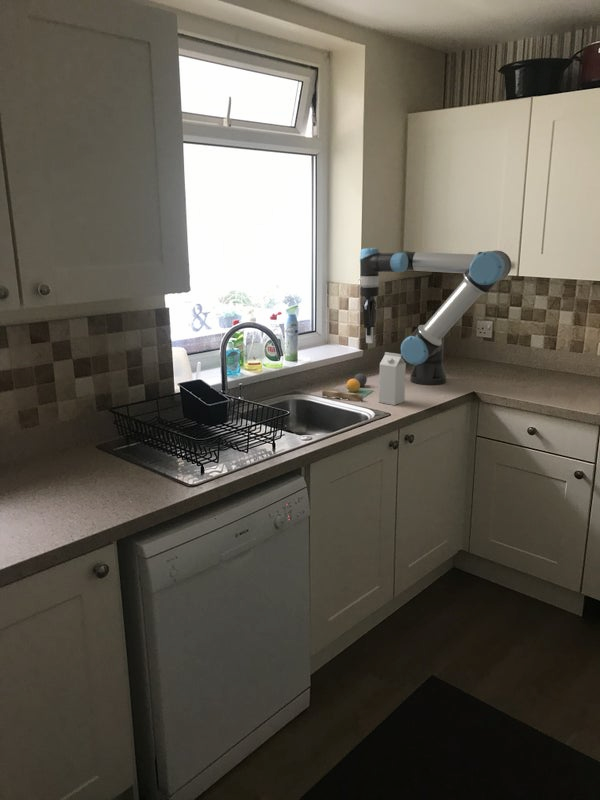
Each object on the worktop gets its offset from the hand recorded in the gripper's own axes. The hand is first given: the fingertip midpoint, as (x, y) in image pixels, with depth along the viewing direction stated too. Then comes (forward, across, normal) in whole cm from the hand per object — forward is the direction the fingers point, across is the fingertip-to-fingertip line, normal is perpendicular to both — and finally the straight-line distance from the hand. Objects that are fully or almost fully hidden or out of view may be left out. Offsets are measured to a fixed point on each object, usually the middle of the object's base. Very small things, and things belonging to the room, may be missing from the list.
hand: (369, 342), depth 277 cm
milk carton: (+18, +29, +17) cm, 38 cm away
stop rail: (+17, +30, -2) cm, 35 cm away
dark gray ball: (+14, +9, -2) cm, 17 cm away
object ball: (+14, +19, -2) cm, 24 cm away
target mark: (+17, +21, -2) cm, 27 cm away
